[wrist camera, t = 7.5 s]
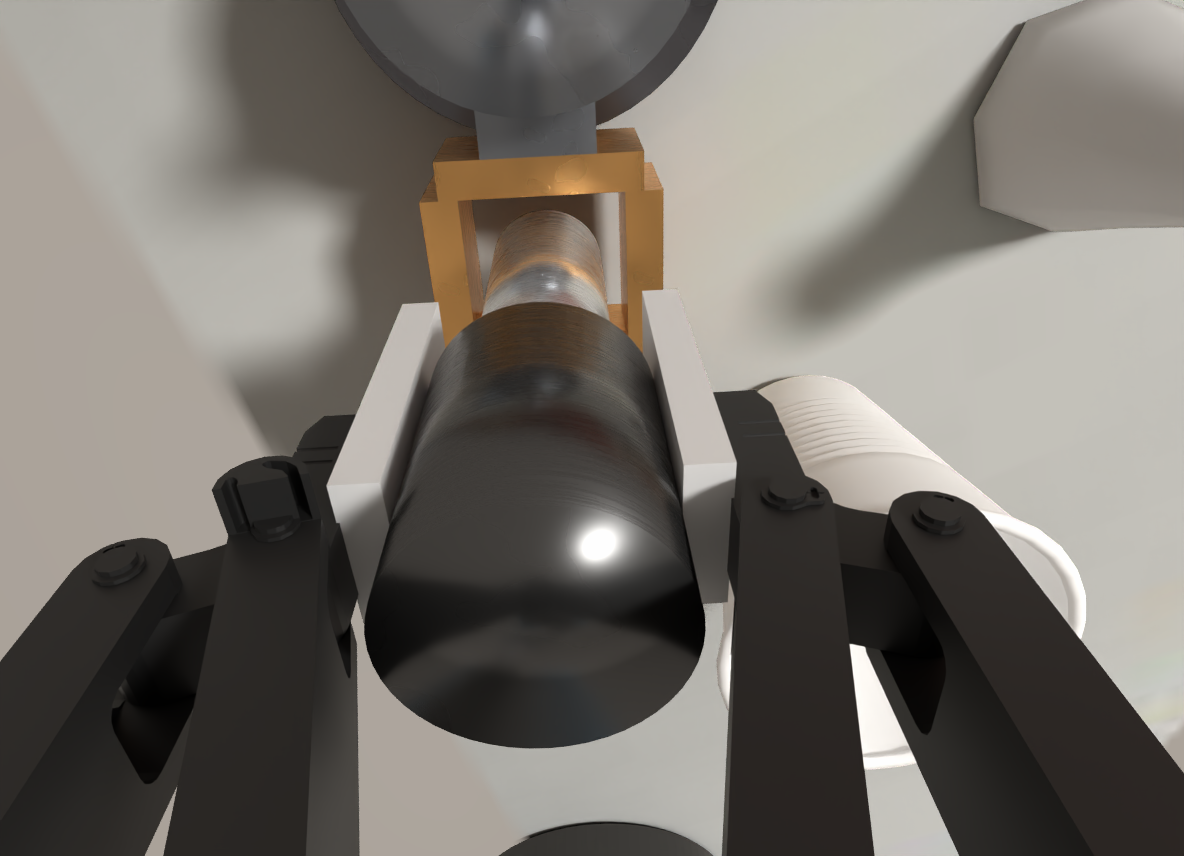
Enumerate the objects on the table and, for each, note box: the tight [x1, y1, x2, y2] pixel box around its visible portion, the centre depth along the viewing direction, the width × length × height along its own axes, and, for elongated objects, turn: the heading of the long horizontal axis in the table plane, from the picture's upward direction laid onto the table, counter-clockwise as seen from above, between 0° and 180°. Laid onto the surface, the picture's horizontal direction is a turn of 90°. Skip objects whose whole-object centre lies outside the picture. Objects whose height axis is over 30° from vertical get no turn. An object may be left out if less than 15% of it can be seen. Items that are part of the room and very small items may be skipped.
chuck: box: [344, 0, 691, 354], centre depth 18 cm, size 16×8×10 cm, turn 2°
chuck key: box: [364, 210, 706, 748], centre depth 16 cm, size 4×4×14 cm
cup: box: [717, 375, 1086, 770], centre depth 26 cm, size 10×10×11 cm
